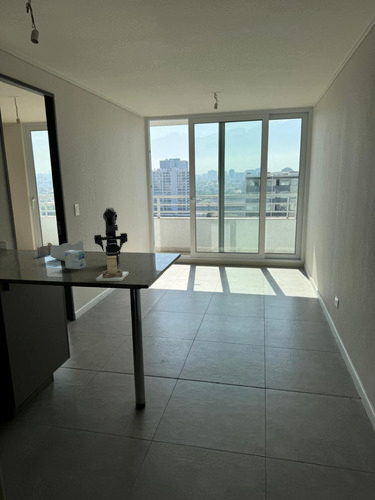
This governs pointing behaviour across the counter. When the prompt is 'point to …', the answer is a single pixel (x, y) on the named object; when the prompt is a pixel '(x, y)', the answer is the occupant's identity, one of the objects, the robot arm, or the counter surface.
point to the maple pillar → (112, 265)
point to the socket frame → (105, 274)
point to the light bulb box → (75, 259)
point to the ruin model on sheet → (44, 250)
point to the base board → (112, 278)
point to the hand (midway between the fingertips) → (111, 250)
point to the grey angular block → (64, 249)
